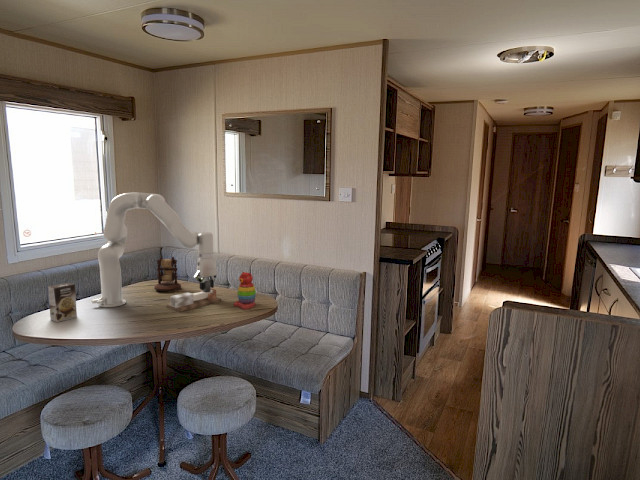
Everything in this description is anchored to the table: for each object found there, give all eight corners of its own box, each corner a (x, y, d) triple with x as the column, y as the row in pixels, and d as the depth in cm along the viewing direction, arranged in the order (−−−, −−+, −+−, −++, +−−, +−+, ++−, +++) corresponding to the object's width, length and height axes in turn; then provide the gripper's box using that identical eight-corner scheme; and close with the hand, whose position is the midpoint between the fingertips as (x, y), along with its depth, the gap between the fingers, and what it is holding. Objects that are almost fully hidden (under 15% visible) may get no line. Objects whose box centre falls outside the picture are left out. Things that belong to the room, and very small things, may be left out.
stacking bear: (232, 305, 223) (231, 272, 221) (247, 301, 231) (247, 269, 228) (244, 310, 216) (244, 276, 213) (260, 305, 223) (260, 272, 220)
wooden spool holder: (184, 286, 257) (183, 254, 254) (177, 293, 243) (176, 259, 240) (159, 286, 256) (157, 254, 253) (150, 293, 242) (149, 258, 239)
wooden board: (179, 311, 211) (178, 299, 210) (166, 306, 219) (165, 295, 218) (221, 300, 230) (220, 289, 229) (207, 296, 238) (207, 285, 237)
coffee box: (57, 322, 193) (54, 288, 190) (50, 319, 196) (47, 286, 194) (77, 317, 201) (75, 284, 198) (70, 314, 204) (67, 282, 201)
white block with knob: (191, 301, 220) (190, 285, 219) (186, 300, 223) (186, 283, 221) (213, 296, 231) (213, 280, 230) (209, 294, 234) (209, 278, 232)
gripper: (196, 258, 218) (197, 293, 221) (223, 254, 231) (224, 286, 234) (188, 256, 222) (189, 290, 225) (215, 252, 235) (215, 284, 238)
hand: (206, 288), depth 229 cm, fingers open, 5 cm apart
